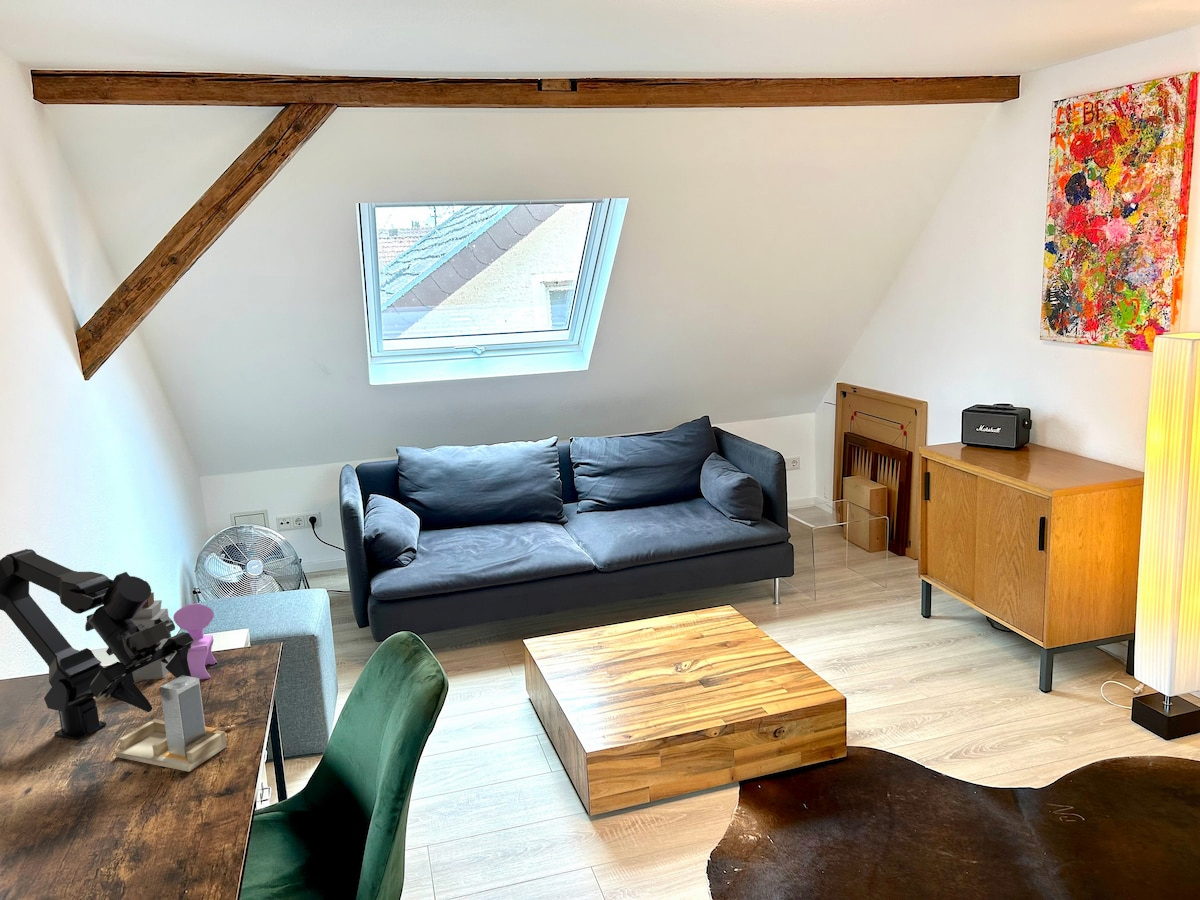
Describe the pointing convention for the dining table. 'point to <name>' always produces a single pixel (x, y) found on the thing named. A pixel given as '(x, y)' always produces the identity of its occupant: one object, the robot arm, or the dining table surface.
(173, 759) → the cream divided tray
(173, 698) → the brushed steel block
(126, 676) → the robot arm
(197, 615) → the toy chair
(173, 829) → the dining table surface
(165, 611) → the perfume bottle
